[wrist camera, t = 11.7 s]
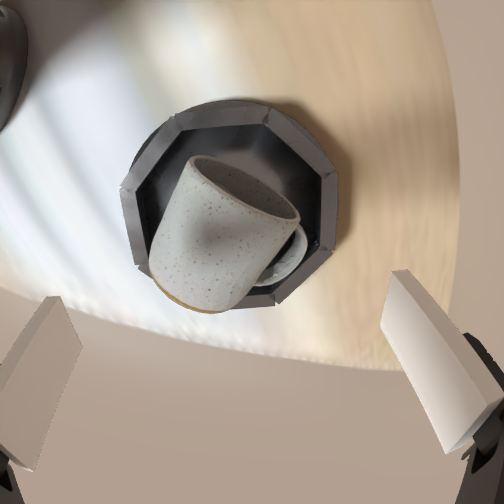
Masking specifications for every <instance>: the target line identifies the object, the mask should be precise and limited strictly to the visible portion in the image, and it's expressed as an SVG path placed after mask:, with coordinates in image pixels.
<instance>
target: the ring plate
mask: <svg viewBox="0 0 504 504" xmlns="http://www.w3.org/2000/svg"><path fill="white" fill-rule="evenodd" d="M197 155H201V156H210V157H214V158H217V159H220V160H222V161H226V162H229V163H230V164H233V165H235V166H237V167H239V168H241V169H243V170H245V171H247V172H249V173H251V174H252V175H254V176H255V177H257V178H258V179H260V180H262V181H264V182H266V183H267V184H268V185H270V186H271V187H272V188H274V189H275V190H276V191H278V192H279V193H280V194H281V195H282V196H284V197H285V198H286V199H287V200H288V201H289V202H290V203H291V204H292V205H293V206H294V207H295V209H296V210H297V211H298V213H299V215H300V219H301V220H300V222H299V225H300V226H301V227H302V228H303V230H304V232H305V233H306V237H307V250H306V253H305V255H304V257H303V259H302V260H301V262H300V263H299V264H298V266H297V267H296V268H295V269H294V270H293V271H292V272H291V273H290V274H288V275H287V276H286V277H285V278H283V279H281V280H279V281H277V282H275V283H273V284H270V285H265V286H253V287H252V288H251V289H250V291H249V292H248V293H247V294H246V295H245V296H244V297H243V299H242V300H241V301H239V302H238V303H237V304H236V305H235V306H234V307H232V308H231V309H243V308H256V307H268V306H275V302H277V303H278V304H280V303H281V302H282V301H283V300H284V299H285V298H287V297H288V296H289V295H290V294H291V293H292V292H293V291H294V290H295V289H296V288H297V287H298V286H300V285H301V284H302V283H303V282H304V281H305V280H306V279H307V278H308V277H309V276H310V275H311V274H312V273H313V272H314V271H315V270H317V269H318V268H319V267H320V266H321V265H322V264H323V263H324V262H325V261H326V260H327V259H328V258H329V257H330V256H331V255H332V254H333V253H332V252H331V250H335V238H336V220H337V213H338V172H337V171H335V169H336V167H335V166H334V165H333V164H332V163H331V162H330V161H329V160H328V158H327V156H326V154H325V152H324V151H323V149H322V148H321V146H320V145H319V143H318V142H317V141H316V140H315V138H314V137H313V136H312V135H311V134H310V133H309V132H308V131H307V130H306V129H305V128H304V127H303V126H301V125H300V124H299V123H298V122H297V121H295V120H294V119H292V118H290V117H289V116H287V115H285V114H284V113H282V112H280V111H278V110H275V109H274V108H271V107H268V106H265V105H261V104H257V103H254V102H246V101H238V100H228V101H216V102H210V103H205V104H201V105H198V106H195V107H192V108H189V109H187V110H185V111H183V112H181V113H177V114H175V116H171V117H170V118H169V119H168V120H167V121H166V122H164V123H163V124H162V125H161V126H160V127H159V128H157V129H156V130H155V131H154V132H153V133H152V134H151V135H150V137H149V138H148V139H147V140H146V141H145V142H144V144H143V145H142V147H141V148H140V150H139V151H138V153H137V155H136V156H135V158H134V161H133V163H132V165H131V167H130V170H129V173H128V174H127V176H126V177H125V179H124V180H123V182H122V183H121V185H120V186H121V187H122V188H121V189H120V190H119V192H120V198H121V203H122V208H123V213H124V218H125V223H126V228H127V233H128V237H129V242H130V246H131V250H132V254H133V259H134V263H135V265H139V267H138V269H139V270H140V271H142V272H143V273H145V274H146V275H147V276H149V277H150V278H152V276H151V274H150V270H149V255H150V251H151V245H152V242H153V239H154V236H155V234H156V232H157V229H158V227H159V225H160V223H161V220H162V218H163V216H164V213H165V210H166V208H167V205H168V203H169V201H170V199H171V196H172V194H173V192H174V190H175V188H176V186H177V184H178V181H179V179H180V176H181V174H182V172H183V170H184V168H185V166H186V163H187V162H188V160H189V159H190V158H191V157H193V156H197ZM294 239H295V230H294V231H293V233H292V234H291V235H290V237H289V238H288V239H287V241H286V242H285V244H284V245H283V246H282V248H281V249H280V250H279V252H278V253H277V254H276V256H275V257H274V258H273V259H272V261H271V262H270V263H269V264H268V266H267V267H266V268H265V269H268V268H270V267H272V266H274V265H275V264H276V263H277V262H278V261H279V260H280V259H281V258H282V256H283V255H284V254H285V253H286V252H287V251H288V249H289V248H290V247H291V245H292V244H293V241H294ZM265 269H264V270H265ZM152 279H153V278H152Z"/></svg>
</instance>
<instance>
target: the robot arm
mask: <svg viewBox="0 0 504 504" xmlns="http://www.w3.org/2000/svg"><path fill="white" fill-rule="evenodd" d="M26 60H27V33H26V28H25V25H24V22H23V20H22V18H21V17H20V15H19V14H18V13H17V12H16V11H15V10H13V9H11V8H8V7H5V6H1V5H0V130H1V128H2V127H3V125H4V124H5V122H6V120H7V119H8V117H9V115H10V113H11V111H12V109H13V107H14V104H15V102H16V99H17V97H18V94H19V91H20V88H21V84H22V81H23V77H24V72H25V67H26ZM380 328H381V329H382V331H383V333H384V335H385V336H386V338H387V340H388V342H389V343H390V345H391V347H392V349H393V351H394V352H395V354H396V356H397V358H398V360H399V362H400V363H401V365H402V367H403V369H404V371H405V373H406V375H407V376H408V378H409V380H410V382H411V384H412V386H413V388H414V390H415V392H416V393H417V396H418V398H419V400H420V401H421V403H422V406H423V408H424V409H425V412H426V414H427V416H428V417H429V420H430V422H431V424H432V426H433V428H434V430H435V432H436V434H437V437H438V439H439V441H440V443H441V445H442V447H443V450H444V452H445V454H448V453H450V452H452V451H454V450H456V449H458V448H460V447H462V446H464V445H465V444H466V443H467V442H468V440H470V438H471V437H473V439H474V441H475V443H474V444H473V445H472V446H471V447H470V448H469V449H468V450H467V451H466V452H465V453H464V454H463V456H462V458H461V459H462V460H464V459H465V458H466V457H467V456H468V455H469V454H470V456H469V459H468V460H467V461H468V464H467V467H466V471H465V475H464V478H463V481H462V485H461V487H460V491H459V494H458V496H457V499H456V502H455V504H504V373H503V372H502V370H501V369H500V368H499V366H498V365H497V363H496V362H495V361H493V358H492V357H491V355H490V354H489V353H487V350H486V349H485V348H484V346H483V345H482V344H481V342H480V341H479V340H478V339H476V338H475V337H473V336H472V335H470V334H469V333H465V334H462V333H461V332H460V331H459V329H458V328H457V327H456V326H455V324H454V323H453V322H452V321H451V319H450V318H449V317H448V316H447V315H446V313H445V312H444V311H443V310H442V308H441V307H440V306H439V305H438V304H437V302H436V301H435V300H434V299H433V298H432V297H431V295H430V294H429V293H428V292H427V291H426V290H425V288H424V287H423V286H422V285H421V284H420V283H419V282H418V280H417V279H416V278H415V277H414V276H413V275H412V274H411V273H410V271H409V270H408V269H407V270H399V271H392V272H391V277H390V282H389V287H388V292H387V296H386V301H385V305H384V310H383V314H382V318H381V322H380ZM82 347H83V345H82V343H81V341H80V339H79V337H78V335H77V333H76V331H75V329H74V327H73V325H72V322H71V320H70V318H69V316H68V313H67V311H66V309H65V307H64V304H63V302H62V299H61V297H60V296H53V297H46V298H45V300H44V301H43V302H42V304H41V305H40V306H39V308H38V309H37V311H36V312H35V313H34V315H33V316H32V318H31V319H30V320H29V322H28V323H27V325H26V326H25V328H24V329H23V331H22V332H21V334H20V335H19V337H18V339H17V340H16V341H15V343H14V344H13V346H12V348H11V349H10V351H9V352H8V354H7V356H6V357H5V359H4V360H3V362H2V364H0V504H25V503H24V501H23V498H22V496H21V493H20V490H19V488H18V484H17V481H16V479H15V475H14V473H13V470H12V468H11V466H10V465H9V464H8V461H9V459H10V460H12V461H13V462H14V463H15V464H17V465H18V466H19V467H21V468H23V469H26V470H29V471H31V472H35V469H36V465H37V462H38V459H39V456H40V453H41V450H42V447H43V444H44V441H45V438H46V435H47V432H48V429H49V427H50V424H51V421H52V419H53V416H54V413H55V411H56V408H57V406H58V403H59V401H60V398H61V395H62V393H63V390H64V388H65V386H66V384H67V381H68V379H69V377H70V374H71V372H72V370H73V367H74V365H75V363H76V360H77V358H78V356H79V354H80V352H81V350H82Z"/></svg>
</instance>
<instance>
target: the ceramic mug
mask: <svg viewBox="0 0 504 504" xmlns="http://www.w3.org/2000/svg"><path fill="white" fill-rule="evenodd" d="M300 220H301V219H300V215H299V213H298V211H297V210H296V209H295V207H294V206H293V205H292V204H291V203H290V202H289V201H288V200H287V199H286V198H285V197H284V196H282V195H281V194H280V193H279V192H278V191H276V190H275V189H274V188H272V187H271V186H270V185H268V184H267V183H266V182H264V181H262V180H260V179H258V178H257V177H255V176H254V175H252V174H251V173H249V172H247V171H245V170H243V169H241V168H239V167H237V166H235V165H233V164H230V163H229V162H226V161H222V160H220V159H217V158H214V157H210V156H201V155H197V156H193V157H191V158H190V159H189V160H188V162H187V163H186V166H185V168H184V170H183V172H182V174H181V176H180V179H179V181H178V184H177V186H176V188H175V190H174V192H173V194H172V196H171V199H170V201H169V203H168V205H167V208H166V210H165V213H164V216H163V218H162V220H161V223H160V225H159V227H158V229H157V232H156V234H155V236H154V239H153V242H152V245H151V251H150V255H149V270H150V274H151V276H152V278H153V280H154V282H155V283H156V285H157V286H158V288H159V289H160V290H161V291H162V292H163V293H164V294H165V295H166V296H167V297H168V298H169V299H171V300H172V301H174V302H176V303H177V304H179V305H181V306H183V307H185V308H187V309H190V310H193V311H196V312H200V313H208V314H215V313H222V312H225V311H227V310H229V309H231V308H232V307H234V306H235V305H236V304H237V303H238V302H239V301H241V300H242V299H243V297H244V296H245V295H246V294H247V293H248V292H249V291H250V289H251V288H252V287H253V286H265V285H270V284H273V283H275V282H277V281H279V280H281V279H283V278H285V277H286V276H287V275H288V274H290V273H291V272H292V271H293V270H294V269H295V268H296V267H297V266H298V264H299V263H300V262H301V260H302V259H303V257H304V255H305V253H306V250H307V237H306V233H305V232H304V230H303V228H302V227H301V226H300V225H299V222H300ZM294 230H295V239H294V241H293V244H292V245H291V247H290V248H289V249H288V251H287V252H286V253H285V254H284V255H283V256H282V258H281V259H280V260H279V261H278V262H277V263H276V264H275V265H274V266H272V267H270V268H268V269H265V268H266V267H267V266H268V264H269V263H270V262H271V261H272V259H273V258H274V257H275V256H276V254H277V253H278V252H279V250H280V249H281V248H282V246H283V245H284V244H285V242H286V241H287V239H288V238H289V237H290V235H291V234H292V233H293V231H294ZM264 269H265V270H264Z"/></svg>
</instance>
